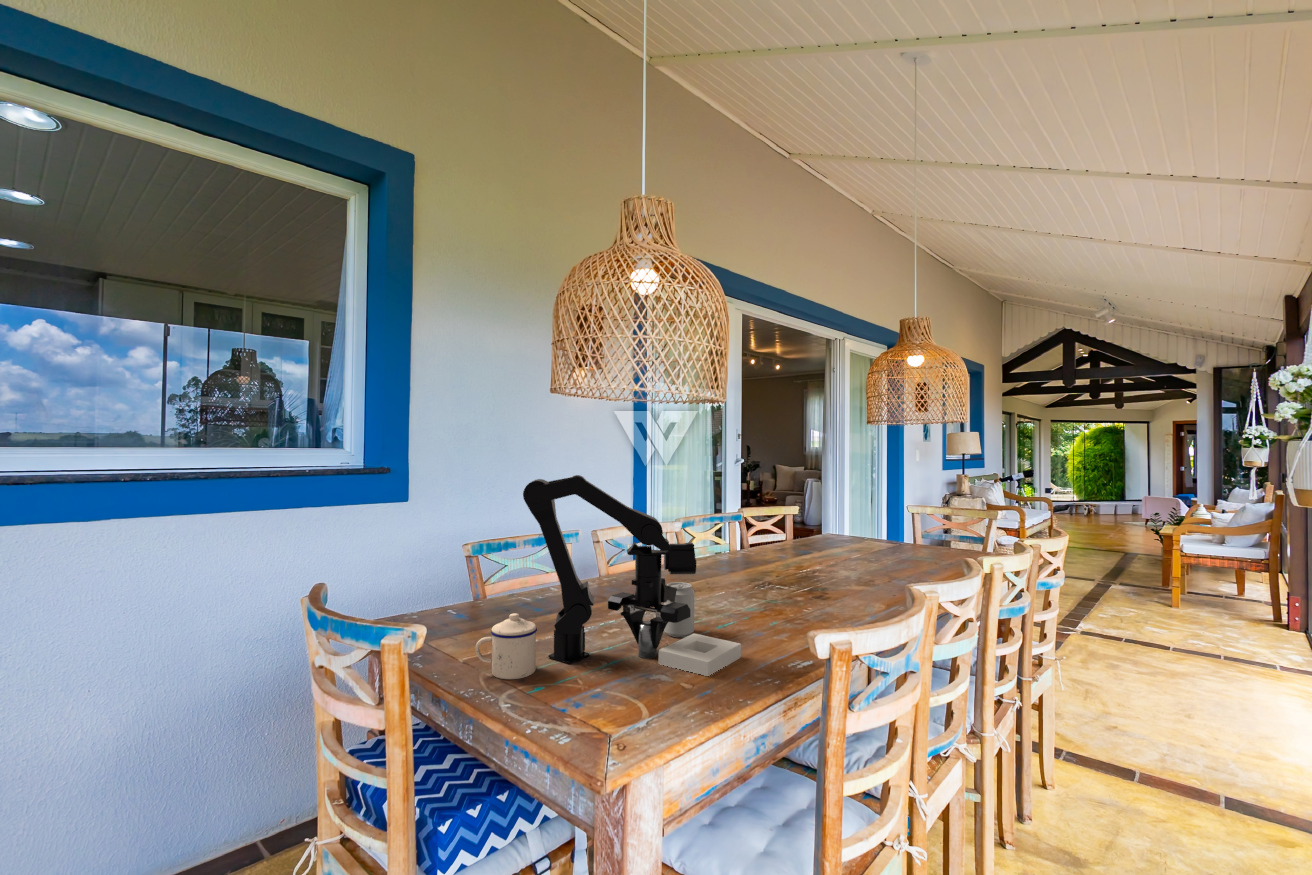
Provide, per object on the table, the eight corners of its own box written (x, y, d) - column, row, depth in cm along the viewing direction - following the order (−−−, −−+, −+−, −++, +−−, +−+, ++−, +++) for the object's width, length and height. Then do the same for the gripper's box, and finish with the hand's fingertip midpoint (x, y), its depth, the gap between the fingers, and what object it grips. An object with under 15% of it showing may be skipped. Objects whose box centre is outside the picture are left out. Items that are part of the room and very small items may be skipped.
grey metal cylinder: (649, 659, 134) (649, 627, 134) (634, 656, 136) (635, 623, 136) (660, 654, 137) (660, 622, 137) (645, 651, 139) (645, 619, 139)
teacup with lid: (535, 662, 132) (536, 607, 132) (537, 678, 123) (537, 619, 123) (476, 666, 129) (477, 610, 129) (474, 683, 120) (474, 622, 120)
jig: (707, 677, 124) (708, 661, 124) (658, 664, 131) (658, 649, 131) (740, 657, 136) (740, 643, 136) (693, 646, 143) (693, 633, 143)
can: (658, 635, 151) (658, 585, 151) (671, 627, 157) (672, 579, 157) (686, 640, 147) (686, 589, 147) (699, 631, 154) (699, 582, 154)
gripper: (704, 573, 138) (703, 644, 138) (636, 563, 149) (636, 629, 149) (676, 583, 129) (675, 658, 129) (606, 571, 140) (605, 641, 140)
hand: (647, 645), depth 137 cm, fingers closed on grey metal cylinder, 4 cm apart
